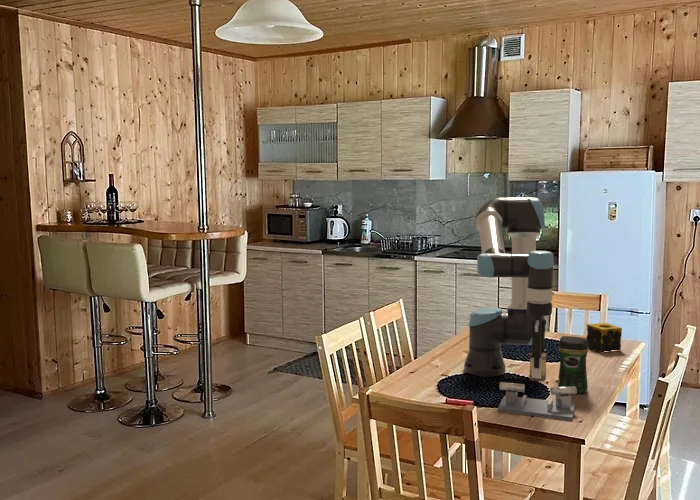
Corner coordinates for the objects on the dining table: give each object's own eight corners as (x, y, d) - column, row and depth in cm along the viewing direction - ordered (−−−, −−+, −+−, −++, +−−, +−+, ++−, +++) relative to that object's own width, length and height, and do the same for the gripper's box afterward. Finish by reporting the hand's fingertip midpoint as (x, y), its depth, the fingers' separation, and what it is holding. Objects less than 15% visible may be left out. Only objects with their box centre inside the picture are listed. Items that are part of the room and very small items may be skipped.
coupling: (536, 382, 210) (536, 356, 209) (525, 377, 214) (526, 352, 214) (549, 380, 212) (549, 354, 211) (538, 375, 216) (539, 351, 215)
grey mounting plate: (497, 411, 212) (497, 401, 212) (504, 398, 224) (504, 389, 224) (572, 420, 204) (572, 410, 204) (575, 406, 216) (575, 397, 216)
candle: (585, 347, 289) (585, 324, 288) (605, 345, 292) (606, 322, 291) (600, 353, 279) (601, 329, 278) (621, 351, 282) (622, 327, 281)
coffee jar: (588, 388, 234) (590, 335, 232) (585, 395, 227) (587, 340, 224) (559, 385, 238) (560, 332, 236) (555, 391, 231) (557, 337, 229)
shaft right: (554, 409, 211) (555, 389, 210) (548, 405, 214) (549, 385, 214) (577, 408, 212) (578, 388, 211) (571, 404, 216) (572, 384, 215)
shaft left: (498, 403, 217) (498, 383, 216) (500, 399, 220) (501, 380, 220) (522, 406, 214) (523, 386, 213) (524, 402, 218) (525, 382, 217)
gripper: (549, 307, 201) (547, 384, 203) (555, 297, 217) (553, 368, 220) (523, 305, 203) (521, 382, 206) (530, 295, 220) (529, 366, 223)
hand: (537, 375), depth 213 cm, fingers closed on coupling, 5 cm apart
